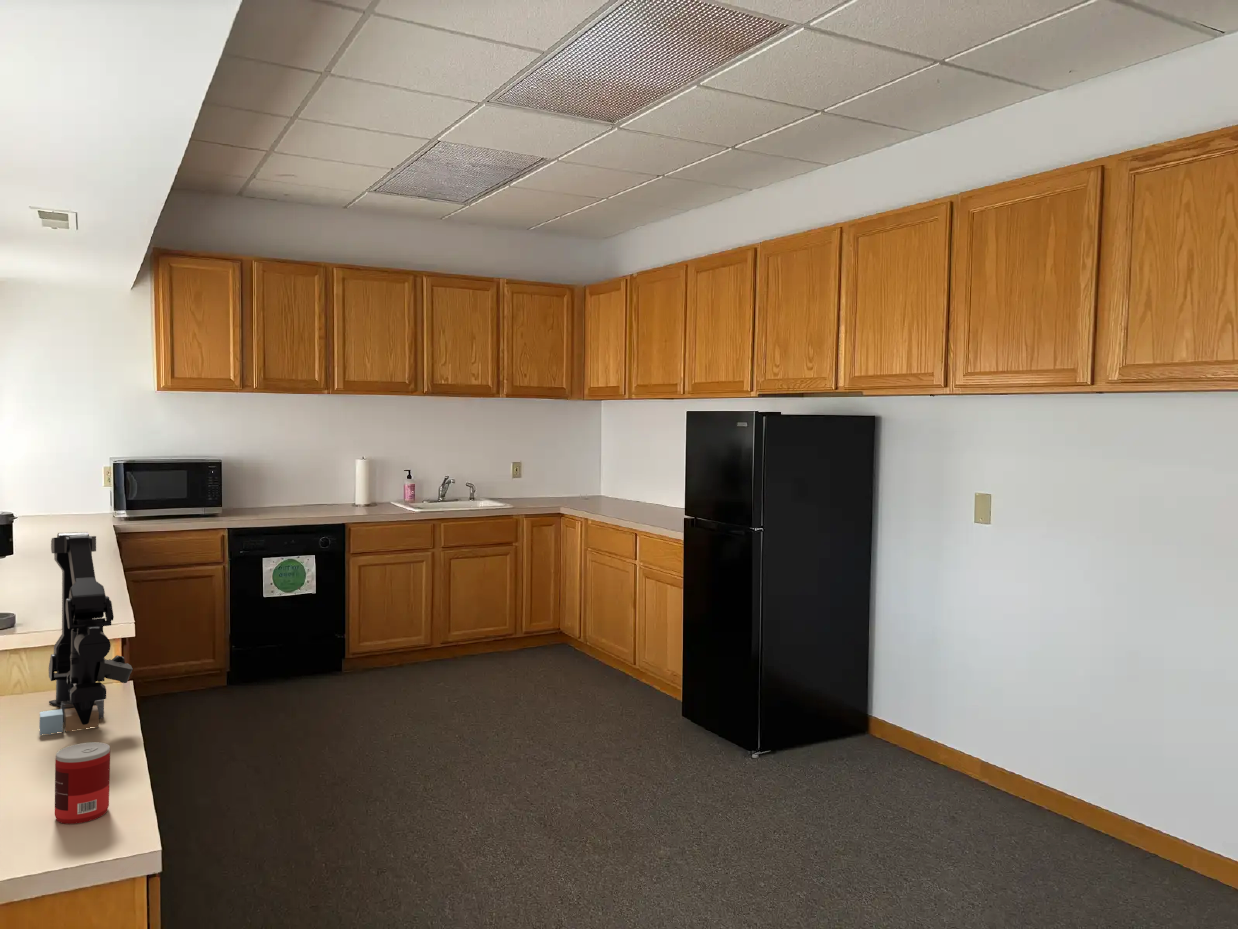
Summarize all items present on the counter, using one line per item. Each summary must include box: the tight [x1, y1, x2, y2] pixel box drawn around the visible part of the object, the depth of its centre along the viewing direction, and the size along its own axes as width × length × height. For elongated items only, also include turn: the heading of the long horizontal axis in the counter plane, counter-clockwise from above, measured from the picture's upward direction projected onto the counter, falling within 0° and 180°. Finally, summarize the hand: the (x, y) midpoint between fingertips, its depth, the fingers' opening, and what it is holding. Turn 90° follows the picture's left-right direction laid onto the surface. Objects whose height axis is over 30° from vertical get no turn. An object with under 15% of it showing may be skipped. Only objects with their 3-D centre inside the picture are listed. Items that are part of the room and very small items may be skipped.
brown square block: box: [63, 705, 100, 733], centre depth 192 cm, size 6×6×4 cm
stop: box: [60, 699, 105, 724], centre depth 196 cm, size 3×8×4 cm, turn 124°
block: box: [39, 708, 64, 736], centre depth 188 cm, size 4×4×4 cm
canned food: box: [54, 741, 111, 825], centre depth 149 cm, size 8×8×11 cm
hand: (85, 724), depth 188 cm, fingers closed
